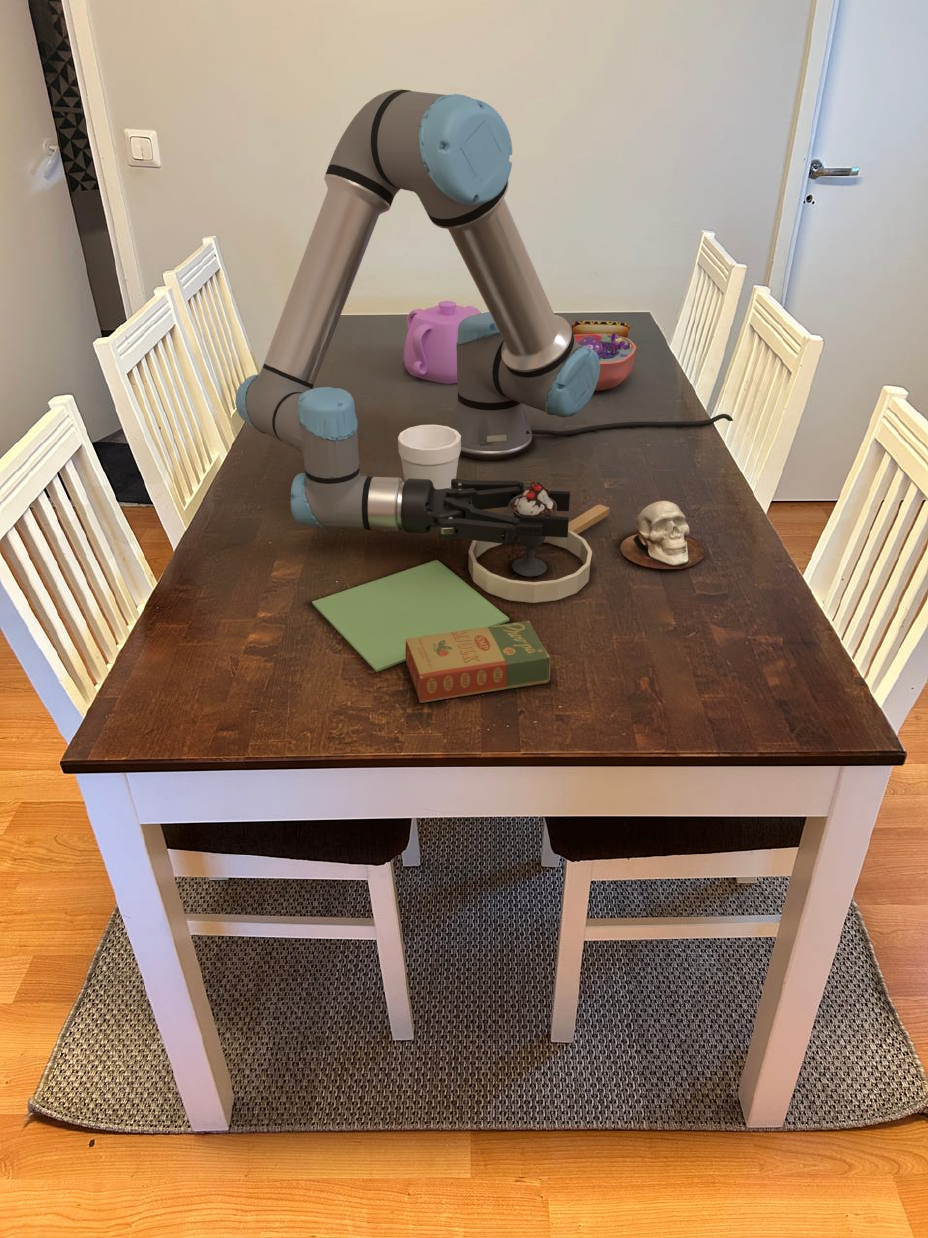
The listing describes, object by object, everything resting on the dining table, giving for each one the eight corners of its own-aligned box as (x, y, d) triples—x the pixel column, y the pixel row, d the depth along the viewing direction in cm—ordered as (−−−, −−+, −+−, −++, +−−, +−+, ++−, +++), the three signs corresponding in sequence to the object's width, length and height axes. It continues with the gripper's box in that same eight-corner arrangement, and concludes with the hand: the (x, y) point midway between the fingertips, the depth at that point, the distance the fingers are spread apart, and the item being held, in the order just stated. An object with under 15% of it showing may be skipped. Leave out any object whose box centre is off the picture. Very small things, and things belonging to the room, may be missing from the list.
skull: (724, 561, 133) (687, 520, 127) (667, 607, 136) (628, 568, 130) (692, 519, 142) (655, 479, 136) (639, 562, 145) (601, 525, 139)
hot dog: (628, 348, 212) (631, 326, 210) (570, 346, 213) (571, 324, 211) (627, 341, 216) (630, 319, 214) (570, 339, 218) (571, 317, 215)
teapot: (404, 355, 208) (401, 290, 200) (496, 353, 209) (498, 288, 201) (405, 387, 192) (402, 317, 184) (505, 384, 193) (507, 315, 185)
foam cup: (391, 521, 145) (388, 444, 137) (414, 496, 152) (412, 421, 144) (448, 532, 142) (448, 453, 135) (469, 505, 149) (469, 429, 142)
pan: (587, 512, 147) (589, 495, 146) (663, 559, 135) (666, 541, 134) (446, 560, 135) (446, 542, 134) (516, 616, 123) (517, 597, 122)
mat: (437, 561, 135) (437, 559, 135) (509, 620, 123) (509, 618, 122) (312, 604, 126) (311, 601, 126) (376, 672, 113) (376, 669, 113)
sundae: (521, 584, 129) (526, 488, 121) (498, 562, 134) (500, 467, 126) (561, 573, 132) (568, 477, 123) (537, 551, 137) (542, 458, 128)
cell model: (648, 379, 196) (654, 325, 189) (608, 410, 182) (613, 353, 176) (576, 364, 203) (580, 312, 197) (532, 393, 189) (534, 338, 183)
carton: (405, 664, 115) (404, 635, 112) (528, 644, 118) (530, 616, 116) (420, 705, 108) (419, 676, 106) (550, 683, 112) (552, 655, 109)
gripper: (415, 496, 140) (568, 504, 138) (392, 564, 124) (565, 575, 122) (414, 450, 136) (572, 458, 133) (389, 515, 120) (568, 524, 117)
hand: (568, 514), depth 128 cm, fingers closed on sundae, 7 cm apart
